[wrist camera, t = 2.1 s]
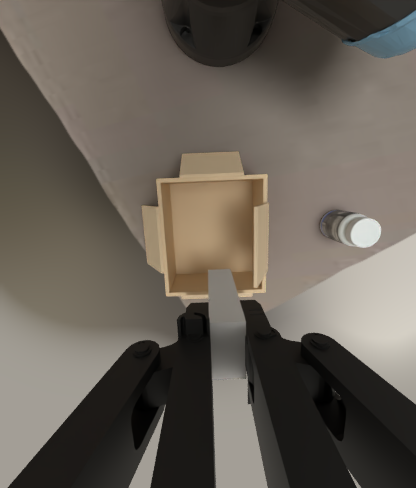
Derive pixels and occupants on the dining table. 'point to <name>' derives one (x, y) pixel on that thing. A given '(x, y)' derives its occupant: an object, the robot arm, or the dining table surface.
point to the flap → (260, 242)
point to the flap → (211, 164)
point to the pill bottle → (350, 228)
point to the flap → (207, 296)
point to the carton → (209, 230)
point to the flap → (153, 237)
